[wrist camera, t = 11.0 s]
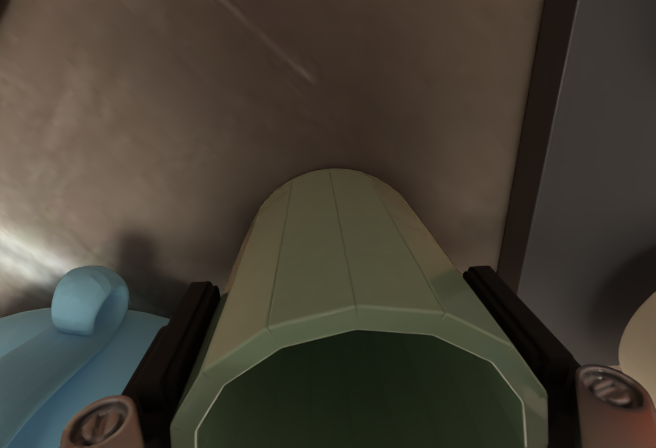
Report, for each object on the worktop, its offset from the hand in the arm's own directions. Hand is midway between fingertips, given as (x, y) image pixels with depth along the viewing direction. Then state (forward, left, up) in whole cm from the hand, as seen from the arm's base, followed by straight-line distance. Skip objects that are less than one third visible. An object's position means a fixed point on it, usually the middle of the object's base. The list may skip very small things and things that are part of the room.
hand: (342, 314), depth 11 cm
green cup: (0, 0, -4) cm, 4 cm away
